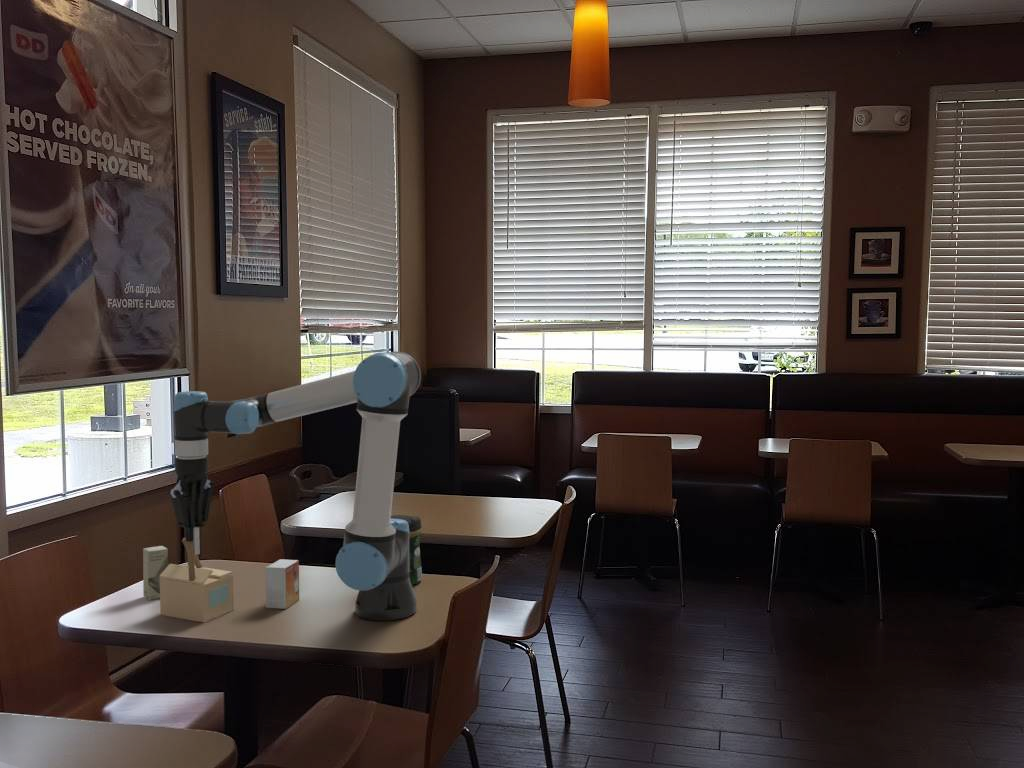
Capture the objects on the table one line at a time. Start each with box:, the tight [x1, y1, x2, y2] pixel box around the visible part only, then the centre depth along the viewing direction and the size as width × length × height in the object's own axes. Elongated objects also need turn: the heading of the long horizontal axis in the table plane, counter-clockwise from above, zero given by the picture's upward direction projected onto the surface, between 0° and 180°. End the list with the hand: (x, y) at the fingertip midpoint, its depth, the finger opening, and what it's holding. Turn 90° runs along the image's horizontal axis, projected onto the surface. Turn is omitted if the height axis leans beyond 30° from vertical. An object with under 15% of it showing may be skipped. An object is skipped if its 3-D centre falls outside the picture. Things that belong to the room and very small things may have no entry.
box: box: [142, 545, 169, 601], centre depth 227 cm, size 5×4×13 cm
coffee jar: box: [391, 514, 423, 586], centre depth 240 cm, size 10×8×19 cm
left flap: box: [160, 541, 213, 584], centre depth 210 cm, size 14×6×9 cm
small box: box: [264, 558, 300, 610], centre depth 221 cm, size 8×6×10 cm
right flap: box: [181, 537, 233, 578], centre depth 216 cm, size 14×6×9 cm, turn 65°
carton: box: [159, 573, 235, 623], centre depth 215 cm, size 14×10×9 cm
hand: (193, 553), depth 209 cm, fingers closed
